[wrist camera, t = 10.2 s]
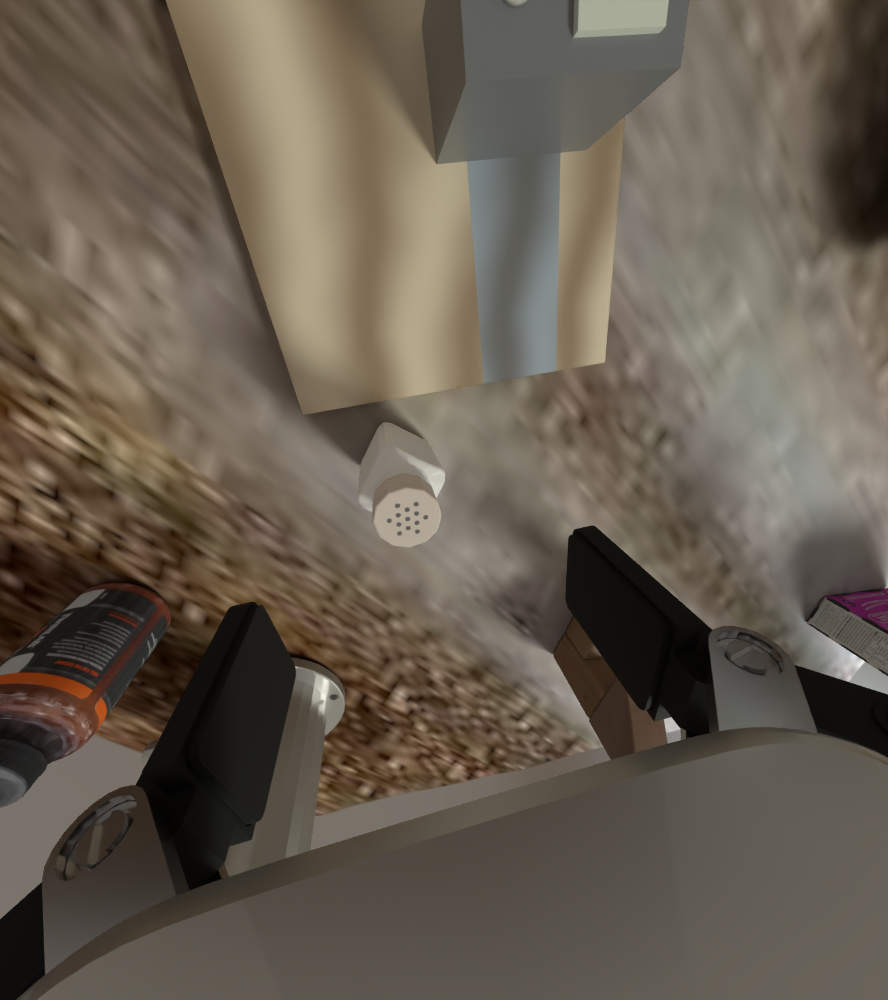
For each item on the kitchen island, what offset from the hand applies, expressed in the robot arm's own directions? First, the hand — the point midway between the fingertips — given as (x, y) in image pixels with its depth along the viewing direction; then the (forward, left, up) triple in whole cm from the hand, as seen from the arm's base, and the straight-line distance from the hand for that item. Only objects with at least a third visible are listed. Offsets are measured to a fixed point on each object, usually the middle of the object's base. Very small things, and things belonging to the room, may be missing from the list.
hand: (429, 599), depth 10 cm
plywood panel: (+5, +14, -15) cm, 21 cm away
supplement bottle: (-22, -8, -15) cm, 28 cm away
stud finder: (+9, +17, -14) cm, 23 cm away
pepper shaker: (0, 0, -15) cm, 15 cm away
